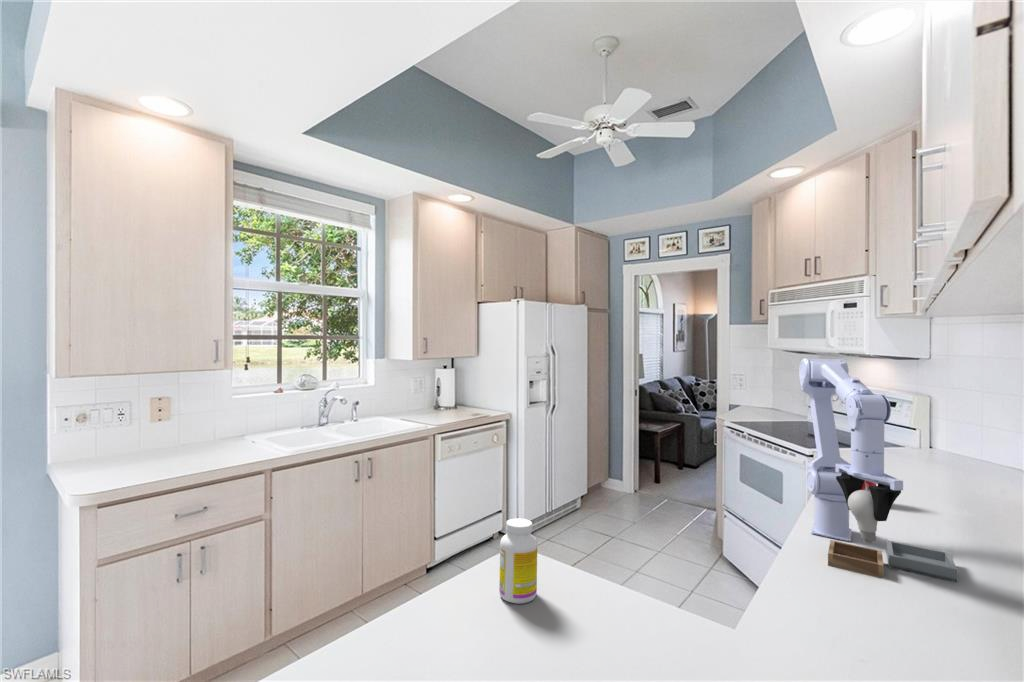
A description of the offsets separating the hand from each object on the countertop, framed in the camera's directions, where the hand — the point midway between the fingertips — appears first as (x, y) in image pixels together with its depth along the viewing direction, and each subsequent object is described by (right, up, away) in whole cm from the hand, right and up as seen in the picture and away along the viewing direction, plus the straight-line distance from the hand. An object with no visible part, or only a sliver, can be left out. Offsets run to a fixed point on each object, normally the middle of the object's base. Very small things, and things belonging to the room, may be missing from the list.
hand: (866, 515), depth 102 cm
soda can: (+31, -12, +44) cm, 56 cm away
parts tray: (+11, -11, 0) cm, 15 cm away
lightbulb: (0, -6, 0) cm, 6 cm away
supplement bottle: (-74, -8, -17) cm, 77 cm away
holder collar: (-3, -10, 0) cm, 11 cm away
